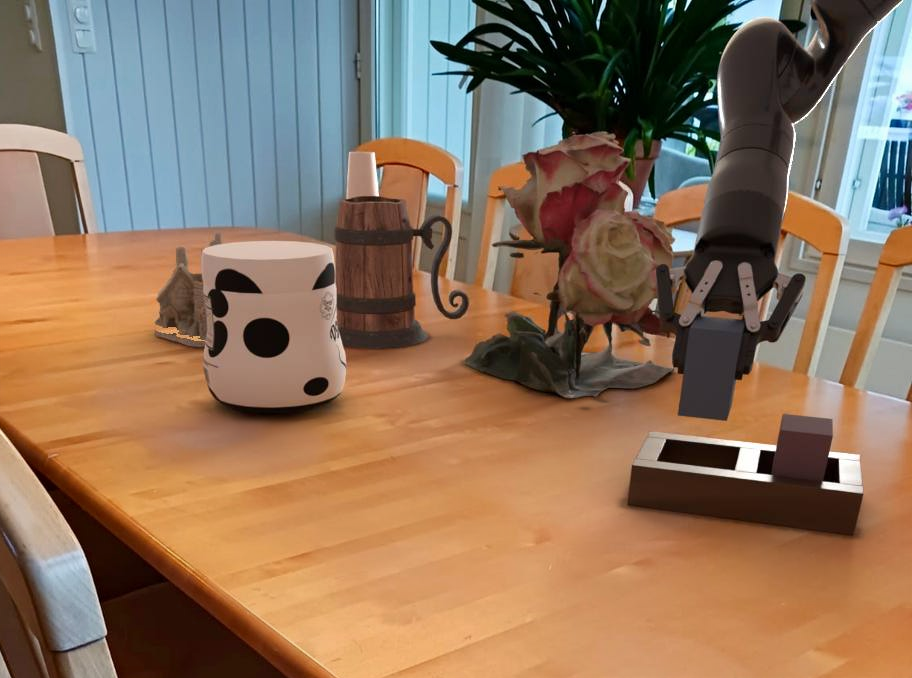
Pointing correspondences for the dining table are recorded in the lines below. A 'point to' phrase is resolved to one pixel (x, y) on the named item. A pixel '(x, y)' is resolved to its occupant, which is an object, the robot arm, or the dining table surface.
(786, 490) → the frame
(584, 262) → the rose bouquet
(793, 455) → the seated pad
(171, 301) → the ceramic cottage
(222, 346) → the milk container
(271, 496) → the dining table surface
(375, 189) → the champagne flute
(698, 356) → the blue-gray rectangular block
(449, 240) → the tankard
